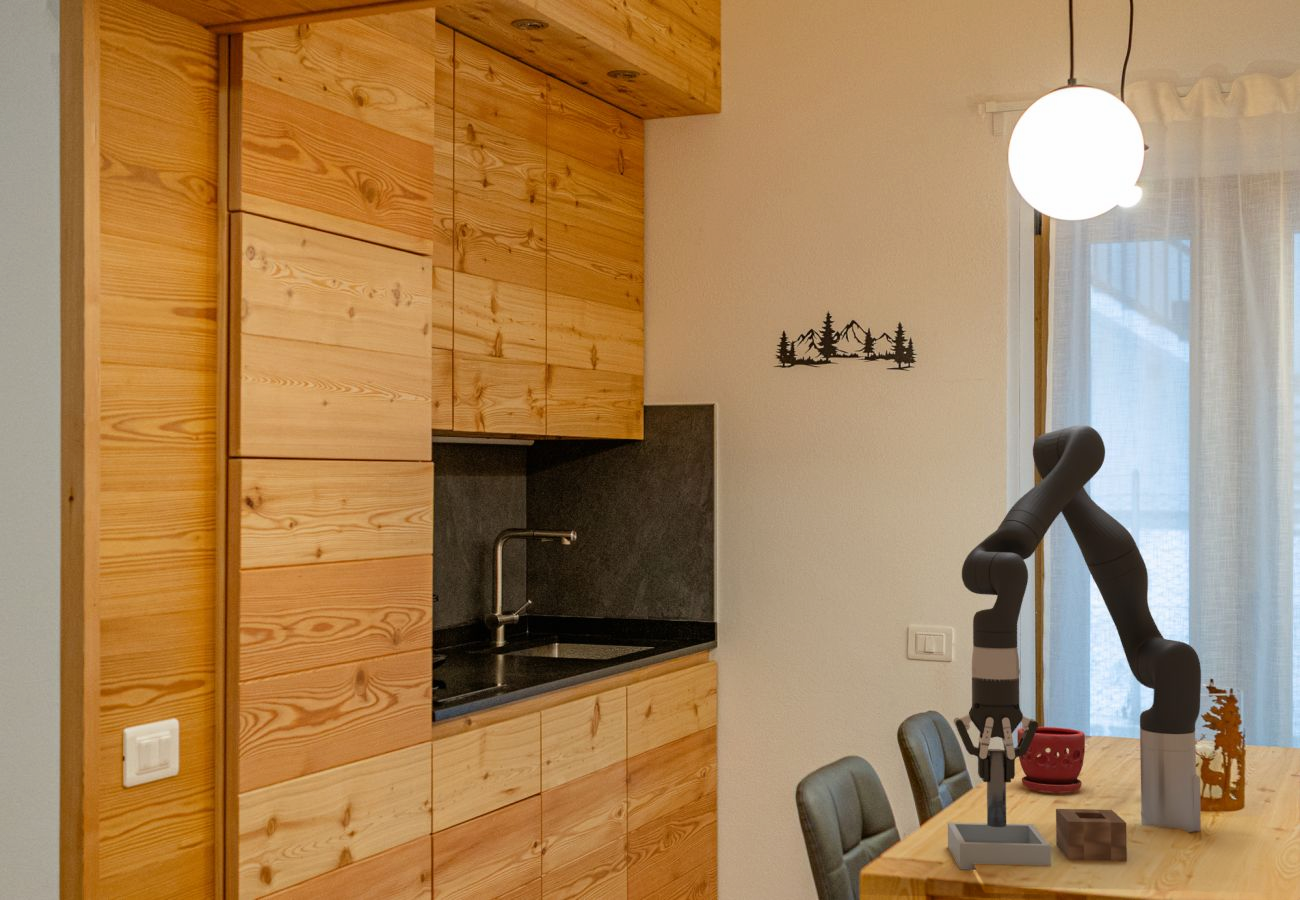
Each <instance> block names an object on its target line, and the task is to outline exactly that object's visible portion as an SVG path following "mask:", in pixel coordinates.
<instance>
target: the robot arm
mask: <svg viewBox="0 0 1300 900" xmlns="http://www.w3.org/2000/svg"><path fill="white" fill-rule="evenodd" d="M1105 446H1106V445H1105V443H1104V441H1103V438H1102V436H1101V435H1100V433H1099V432H1098V431H1097V430H1096V429H1095V428H1093V427H1091V426H1089V425H1084V424H1083V425H1080V424H1079V425H1072V426H1069V427H1066V428H1065V427H1064V428H1061V429H1057V430H1054V431H1051V432H1047V433H1043V434H1040V435H1039V436H1038V437H1036V439H1035V440H1034V442H1033V445H1032V457H1033V461H1034V462H1033V463H1034V465H1035V469H1037V472H1038V475H1039V476H1040V478H1041V480H1040V481H1039V483H1037V484H1036V485H1035V486H1033V487H1032V488H1031V489H1030V490H1028V491H1027V492H1026V493H1025V494H1023V496H1021V497H1020V498H1019V499H1018V500H1017V501H1016V502H1015V503H1014V504H1013V505H1012V507H1010V509H1009V510H1008V512H1007V513H1006V515H1005V517H1004V518H1003V520H1002V521H1001V523H1000V524H999V526H998V527H997V529H996V530H995V531H994V532H992V533H991V534H990V535H988V536H987V537H986V538H985V539H984V540H982V541H981V542H980V543H979V544H978V545H976V546H975V547H974V548H973V549H972V550H971V551H970V552H969V553H968V555H967V556H966V558H965V560H964V561H963V564H962V568H961V579H962V582H963V585H964V587H965V588H966V589H967V590H968V591H969V592H971V593H973V594H977V595H987V596H991V595H992V596H996V600H995V603H994V604H993V606H992V607H991V608H987V609H981V610H978V611H976V612H975V614H974V615H973V620H972V636H973V637H972V643H973V645H972V646H973V647H972V655H971V708H970V709H969V711H968V714H967V715H965V716H962V717H955V718H954V720H953V724H954V726H955V728H956V730H957V732H958V735H959V736H960V739H961V741H962V744H963V745H964V747H965V750H966V751H967V752H968V754H969V755H970V756H975V757H977V774H978V777H979V778H980V779H981V781H982V782H984V783H987V782H988V759H987V752H988V749H989V746H990V743H991V739H993V738H1000V739H1001V741H1002V743H1003V750H1005V751H1006V783H1011V781H1012V780H1014V779H1015V776H1016V775H1015V772H1016V770H1015V769H1016V768H1015V766H1016V764H1015V763H1016V762H1015V761H1016V758H1019V756H1024V755H1025V754H1026V753H1027V750H1028V748H1029V746H1030V744H1031V741H1032V739H1033V737H1034V735H1035V732H1036V730H1037V728H1038V727H1039V723H1038V722H1037V721H1036V720H1035V719H1034V718H1029V717H1026V716H1024V715H1023V712H1022V709H1021V708H1020V673H1021V670H1020V657H1019V653H1018V651H1019V650H1018V622H1019V617H1020V612H1021V608H1022V605H1023V601H1024V597H1025V593H1026V591H1027V586H1028V583H1029V572H1028V571H1029V570H1028V567H1027V564H1026V562H1025V560H1026V559H1027V560H1028V558H1030V557H1031V556H1033V554H1034V553H1035V551H1036V550H1037V548H1038V547H1039V545H1040V543H1041V541H1042V540H1043V539H1044V536H1046V534H1047V532H1048V531H1049V529H1050V527H1051V526H1052V524H1053V523H1054V521H1055V520H1056V519H1057V518H1058V516H1059V515H1060V514H1061V513H1062V515H1063V518H1064V520H1065V522H1066V523H1067V525H1068V527H1069V529H1070V531H1071V533H1072V535H1073V537H1074V539H1075V542H1076V544H1077V545H1078V547H1079V550H1080V552H1081V554H1082V557H1083V560H1084V562H1085V564H1086V566H1087V569H1088V570H1089V573H1090V575H1091V577H1092V579H1093V581H1094V583H1095V584H1096V586H1097V589H1098V591H1099V594H1100V595H1101V597H1102V599H1103V602H1104V604H1105V606H1106V609H1107V610H1108V612H1109V615H1110V617H1111V619H1112V622H1113V623H1114V626H1115V627H1116V628H1115V629H1116V631H1117V633H1118V637H1119V640H1120V642H1121V646H1122V649H1123V651H1124V652H1123V653H1124V654H1125V658H1126V662H1127V664H1128V666H1129V668H1130V671H1131V673H1132V675H1133V676H1134V678H1135V680H1136V681H1137V682H1138V683H1139V684H1141V685H1142V686H1144V687H1146V688H1148V689H1152V690H1153V702H1152V705H1151V707H1150V708H1148V709H1146V710H1143V711H1142V712H1141V713H1140V716H1139V742H1140V743H1139V744H1140V745H1139V746H1140V748H1139V749H1140V751H1139V753H1140V759H1139V760H1140V805H1141V806H1140V809H1141V810H1140V816H1141V817H1140V819H1141V823H1140V824H1141V826H1146V827H1147V826H1148V827H1151V826H1152V827H1158V828H1166V829H1182V830H1184V831H1185V832H1187V833H1193V832H1201V831H1202V827H1201V825H1202V823H1201V822H1202V819H1201V817H1202V815H1201V813H1202V812H1201V811H1202V810H1201V778H1200V776H1199V775H1198V774H1197V760H1196V759H1197V755H1196V754H1197V753H1196V751H1197V750H1196V748H1197V747H1196V745H1197V743H1196V724H1197V720H1198V718H1199V715H1200V711H1201V710H1200V709H1201V691H1202V690H1201V689H1202V688H1201V686H1202V668H1201V661H1200V658H1199V655H1198V653H1197V651H1196V650H1195V649H1194V647H1192V646H1191V645H1190V644H1188V643H1186V642H1183V641H1179V640H1173V639H1168V638H1167V639H1165V637H1164V636H1163V634H1162V633H1161V632H1160V630H1159V628H1158V626H1157V623H1156V622H1155V619H1154V617H1153V615H1152V613H1151V611H1150V606H1149V602H1148V601H1149V599H1148V590H1149V575H1148V569H1147V565H1146V563H1145V560H1144V558H1143V555H1142V554H1141V552H1140V550H1139V547H1138V545H1137V543H1136V540H1135V539H1134V537H1133V536H1132V534H1131V532H1130V531H1129V530H1128V529H1127V528H1126V527H1125V526H1124V525H1123V524H1122V523H1121V522H1119V521H1118V520H1117V519H1115V518H1114V517H1113V516H1111V515H1110V514H1109V513H1108V512H1106V511H1105V510H1104V509H1103V508H1102V507H1101V506H1099V504H1097V503H1096V502H1095V501H1094V500H1093V499H1092V497H1090V495H1089V493H1088V492H1087V491H1086V489H1085V485H1086V484H1087V483H1088V482H1090V480H1091V479H1092V478H1094V476H1095V475H1096V474H1097V473H1098V472H1099V470H1100V469H1101V468H1102V466H1103V464H1104V461H1105V458H1106V447H1105ZM970 722H972V723H973V725H974V726H975V728H977V731H979V736H978V744H977V746H974V743H973V741H972V739H971V737H970V735H969V733H968V731H969V729H970V728H971V726H970ZM1020 724H1021V728H1022V729H1023V730H1024V732H1023V734H1022V736H1021V739H1020V741H1019V743H1018V742H1017V746H1015V747H1014V740H1013V733H1014V732H1015V731H1016V729H1017V728H1018V726H1019V725H1020Z"/></svg>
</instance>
